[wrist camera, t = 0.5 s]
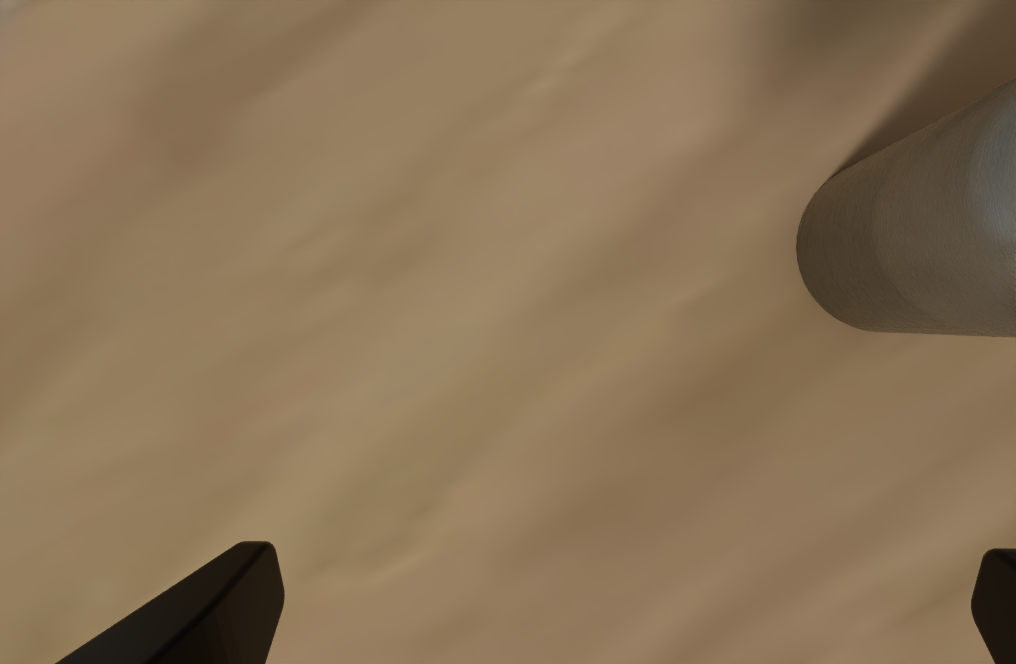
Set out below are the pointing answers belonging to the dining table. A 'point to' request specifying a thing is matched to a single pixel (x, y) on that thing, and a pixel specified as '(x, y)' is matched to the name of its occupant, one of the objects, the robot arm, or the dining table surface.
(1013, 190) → the grey shiny round cylinder
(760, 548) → the dining table surface
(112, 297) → the dining table surface
